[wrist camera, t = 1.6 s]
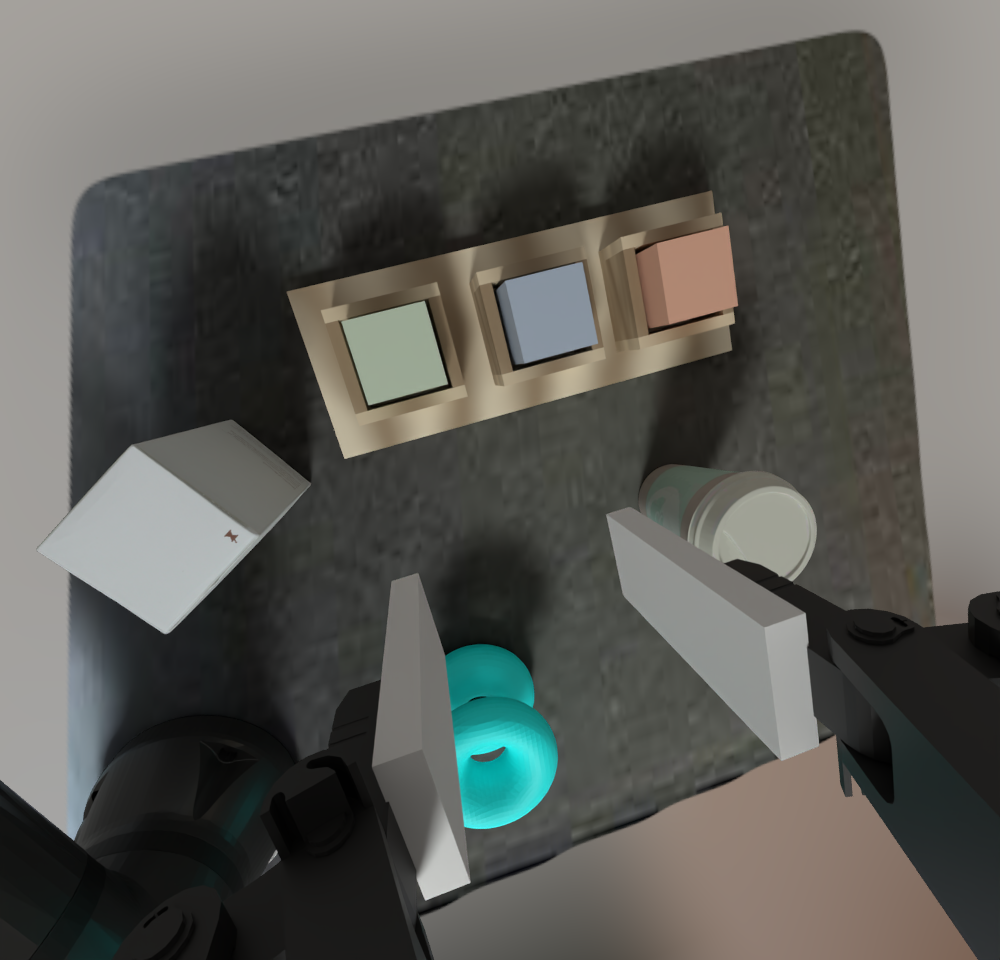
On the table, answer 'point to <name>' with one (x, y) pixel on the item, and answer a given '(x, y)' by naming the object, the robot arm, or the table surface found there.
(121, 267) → the table surface
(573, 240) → the button panel
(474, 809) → the donuts
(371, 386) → the sage button
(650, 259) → the terracotta button
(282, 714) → the table surface
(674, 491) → the coffee cup
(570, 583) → the table surface
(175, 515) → the supplement box
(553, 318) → the slate button
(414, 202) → the table surface
